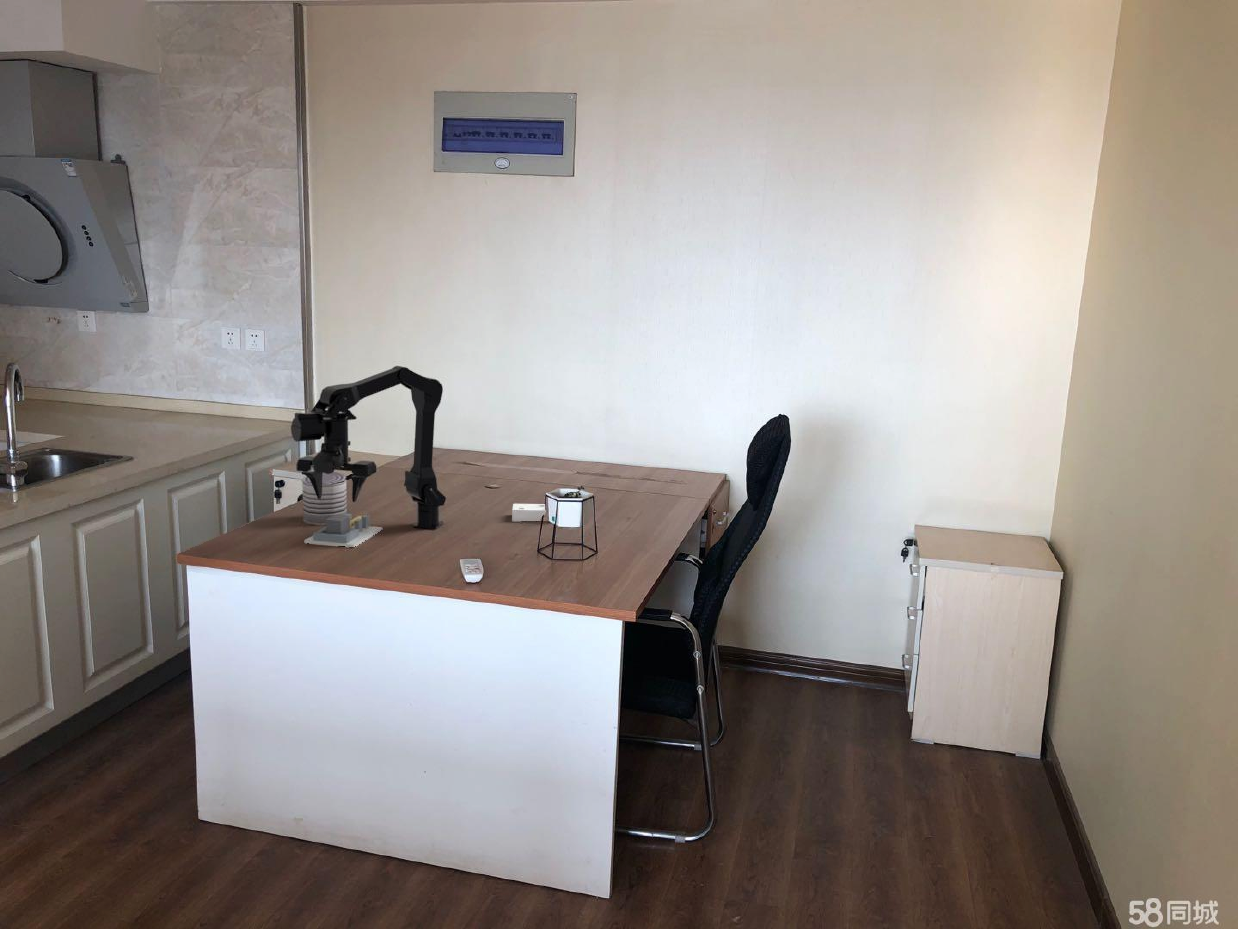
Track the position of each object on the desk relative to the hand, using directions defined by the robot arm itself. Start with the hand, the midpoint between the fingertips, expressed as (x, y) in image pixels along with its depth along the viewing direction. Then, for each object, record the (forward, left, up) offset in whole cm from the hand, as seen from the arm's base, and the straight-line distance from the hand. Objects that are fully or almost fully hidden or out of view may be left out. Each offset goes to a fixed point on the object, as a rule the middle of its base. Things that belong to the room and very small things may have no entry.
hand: (336, 500), depth 244 cm
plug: (-6, 0, -10) cm, 11 cm away
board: (-4, 0, -10) cm, 11 cm away
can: (-17, -12, -11) cm, 23 cm away
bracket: (-37, +41, -11) cm, 57 cm away
